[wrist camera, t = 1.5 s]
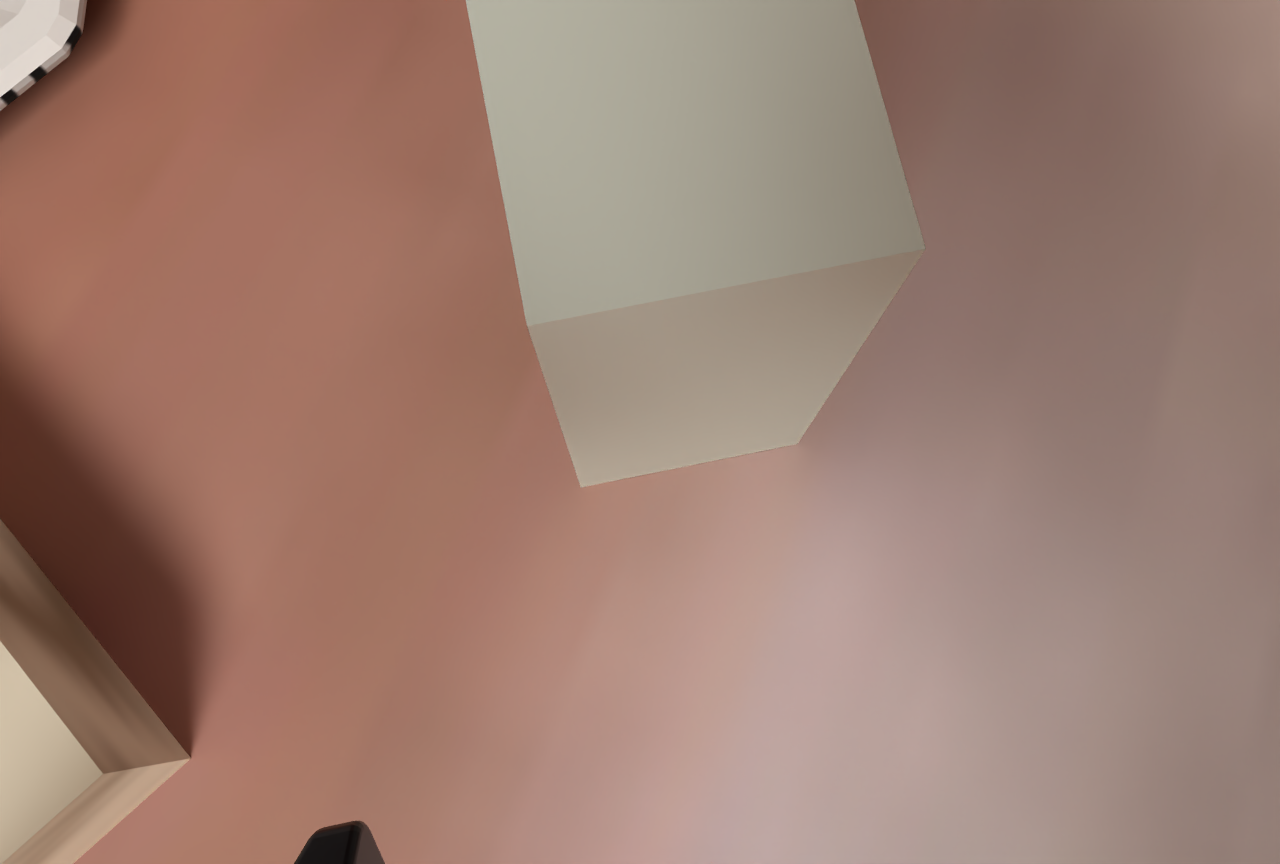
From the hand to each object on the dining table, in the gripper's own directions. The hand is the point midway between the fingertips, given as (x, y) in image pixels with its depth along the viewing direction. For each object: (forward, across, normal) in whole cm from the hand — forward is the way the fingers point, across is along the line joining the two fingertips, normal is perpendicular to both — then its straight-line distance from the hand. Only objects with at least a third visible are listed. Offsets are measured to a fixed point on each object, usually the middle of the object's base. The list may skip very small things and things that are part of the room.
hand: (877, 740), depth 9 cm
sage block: (+15, 0, +4) cm, 16 cm away
